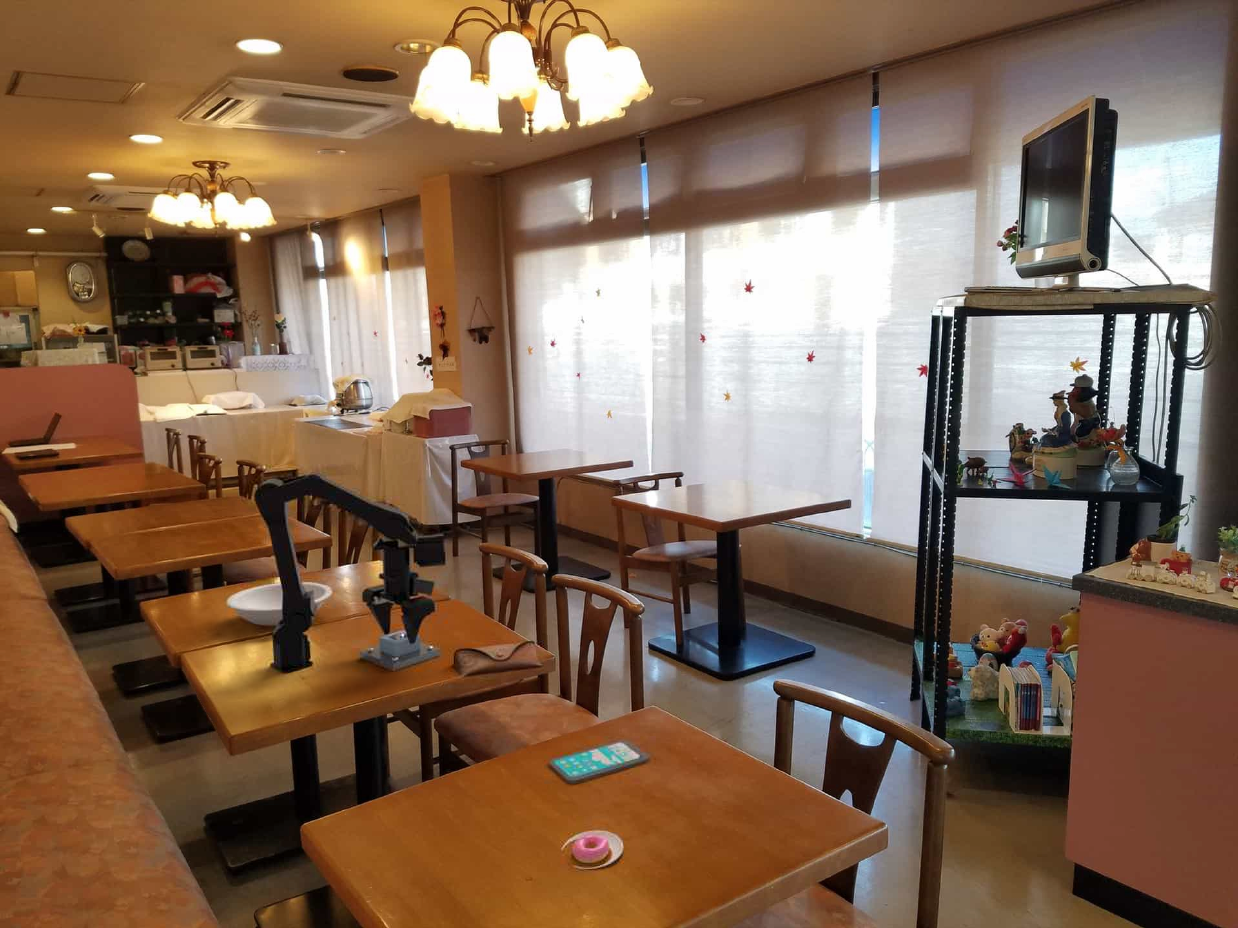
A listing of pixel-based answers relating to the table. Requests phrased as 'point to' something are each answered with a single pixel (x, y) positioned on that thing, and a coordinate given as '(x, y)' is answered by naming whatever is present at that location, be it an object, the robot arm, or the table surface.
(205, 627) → the table surface
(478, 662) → the sunglasses case
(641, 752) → the smartphone
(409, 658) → the keeper plate
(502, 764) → the table surface
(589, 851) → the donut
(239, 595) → the soup bowl
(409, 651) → the blue square ring
